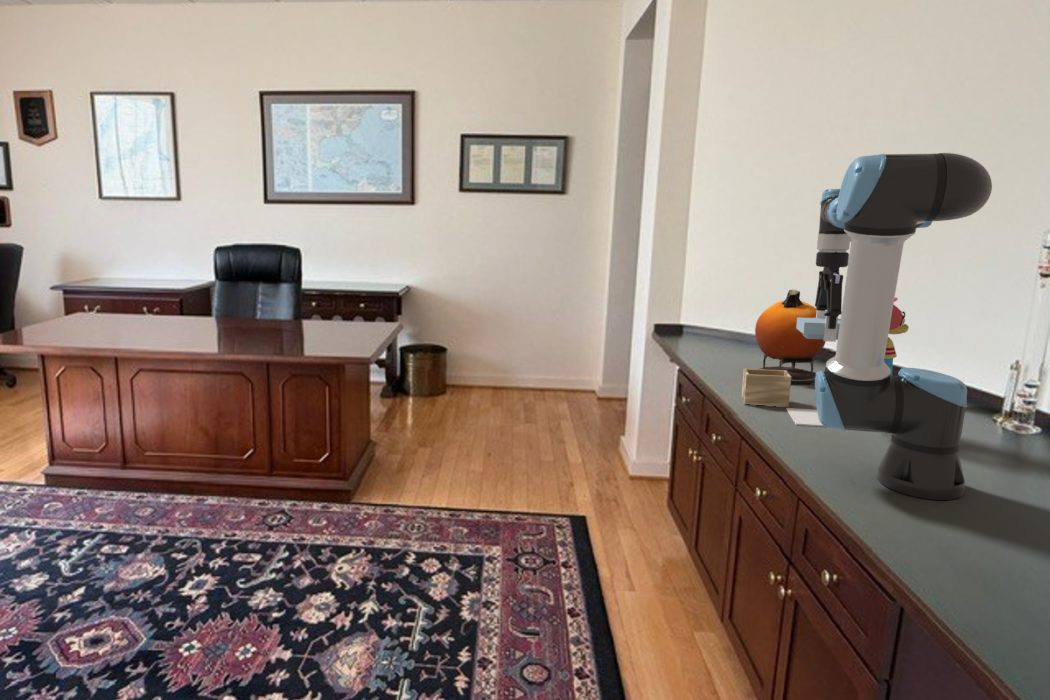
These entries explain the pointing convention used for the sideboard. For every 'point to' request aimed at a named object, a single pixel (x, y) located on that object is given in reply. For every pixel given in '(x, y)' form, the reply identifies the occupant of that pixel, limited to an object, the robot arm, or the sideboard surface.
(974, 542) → the sideboard surface
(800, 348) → the pumpkin
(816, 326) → the lid
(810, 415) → the pad
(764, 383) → the box
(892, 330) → the toy
